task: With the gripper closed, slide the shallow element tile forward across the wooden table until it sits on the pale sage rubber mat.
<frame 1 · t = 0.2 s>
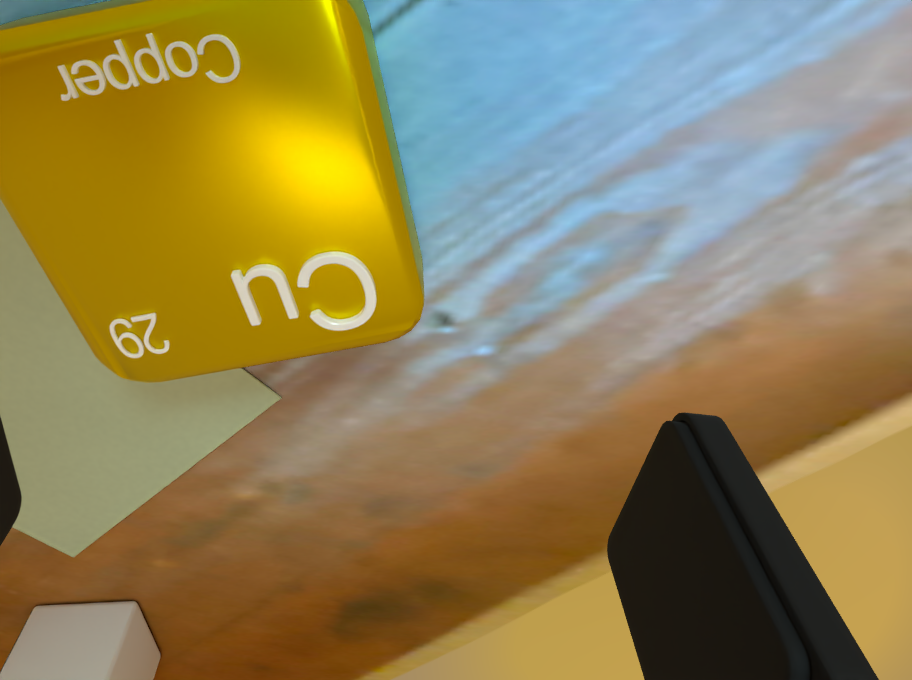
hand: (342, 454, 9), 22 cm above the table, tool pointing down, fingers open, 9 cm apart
element tile: (234, 174, 29), on the table, touching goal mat
medicine bottle: (102, 627, 48), on the table
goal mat: (12, 388, 35), on the table
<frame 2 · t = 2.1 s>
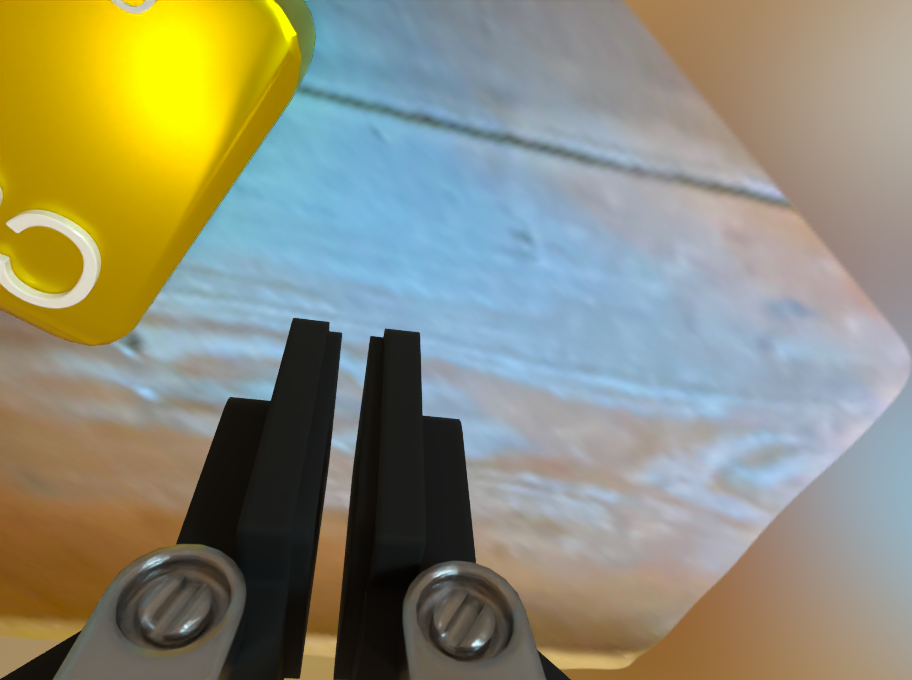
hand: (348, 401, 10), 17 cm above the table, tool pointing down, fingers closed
element tile: (39, 49, 23), on the table, touching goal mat
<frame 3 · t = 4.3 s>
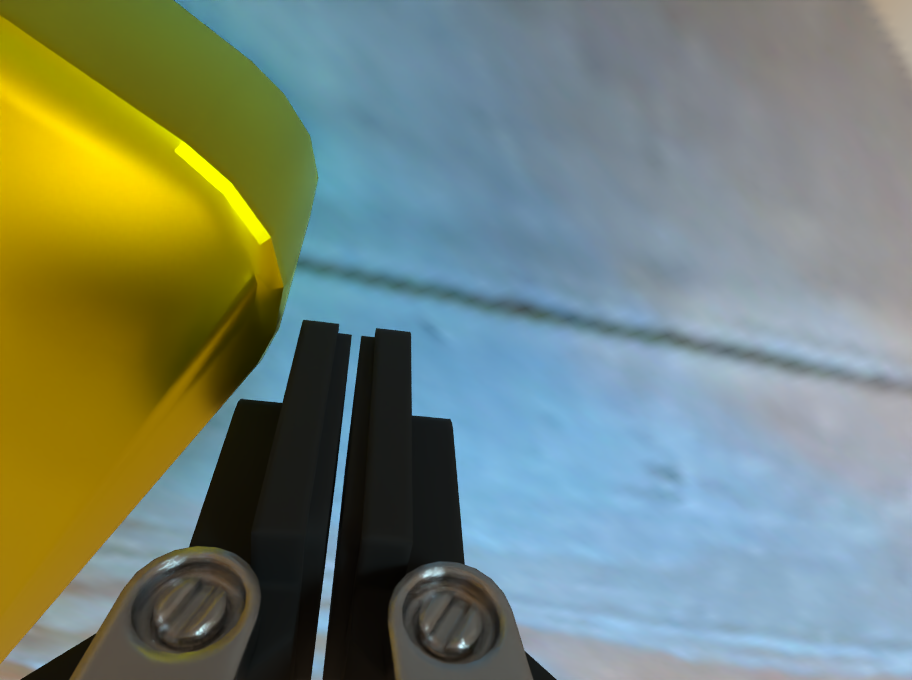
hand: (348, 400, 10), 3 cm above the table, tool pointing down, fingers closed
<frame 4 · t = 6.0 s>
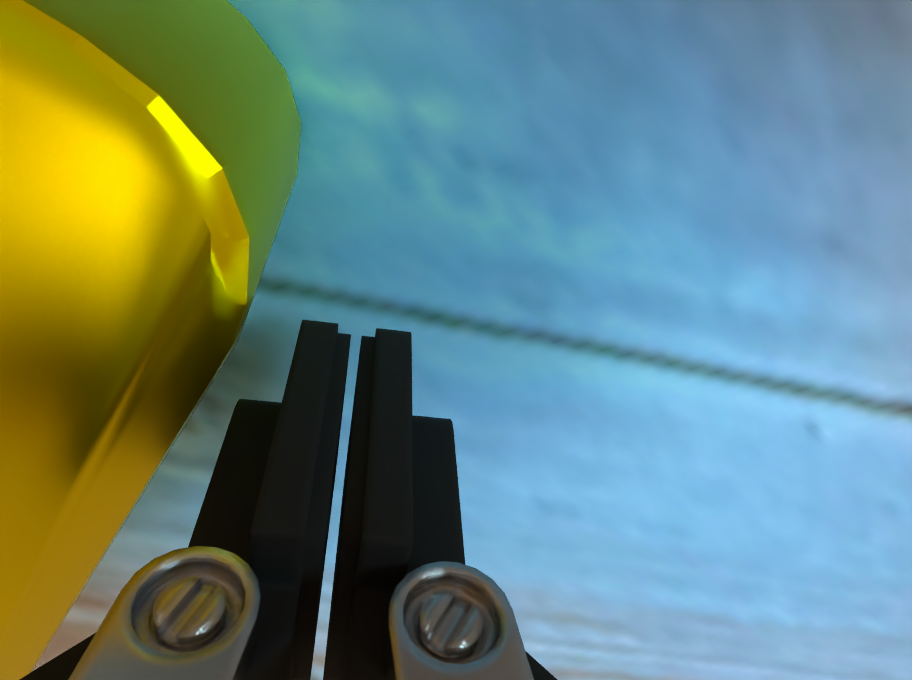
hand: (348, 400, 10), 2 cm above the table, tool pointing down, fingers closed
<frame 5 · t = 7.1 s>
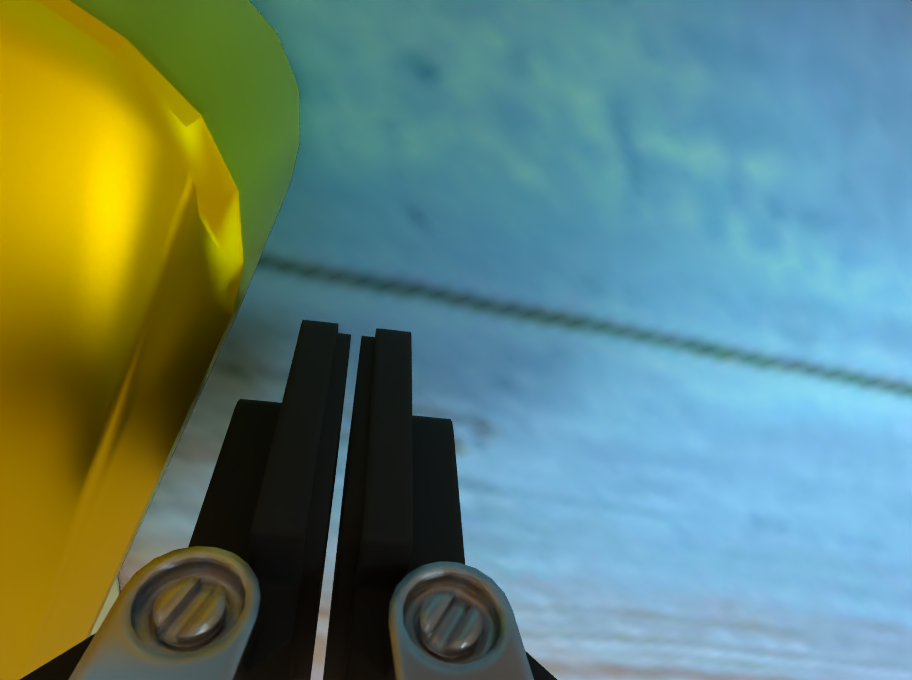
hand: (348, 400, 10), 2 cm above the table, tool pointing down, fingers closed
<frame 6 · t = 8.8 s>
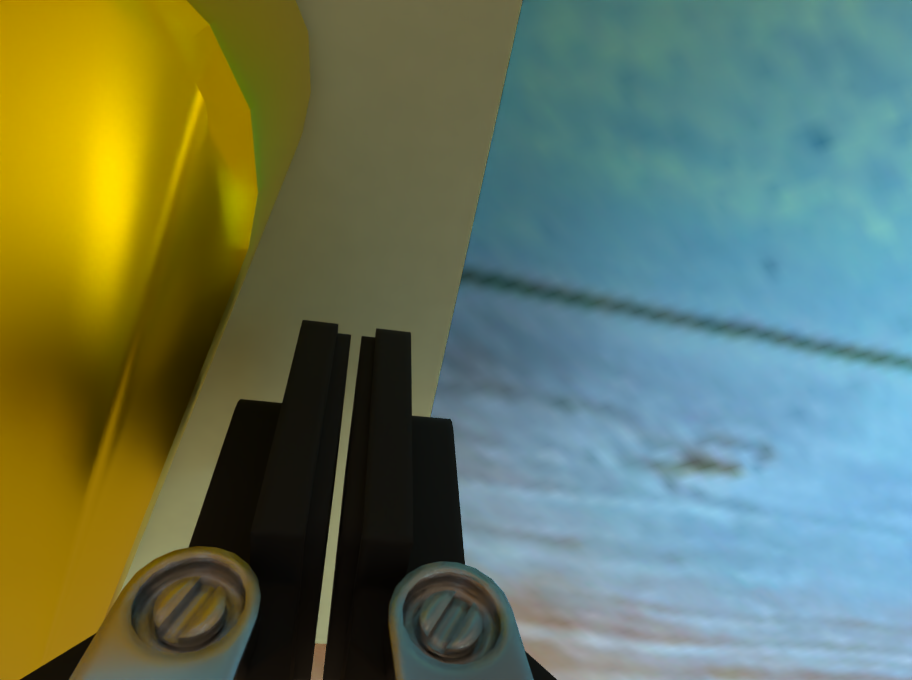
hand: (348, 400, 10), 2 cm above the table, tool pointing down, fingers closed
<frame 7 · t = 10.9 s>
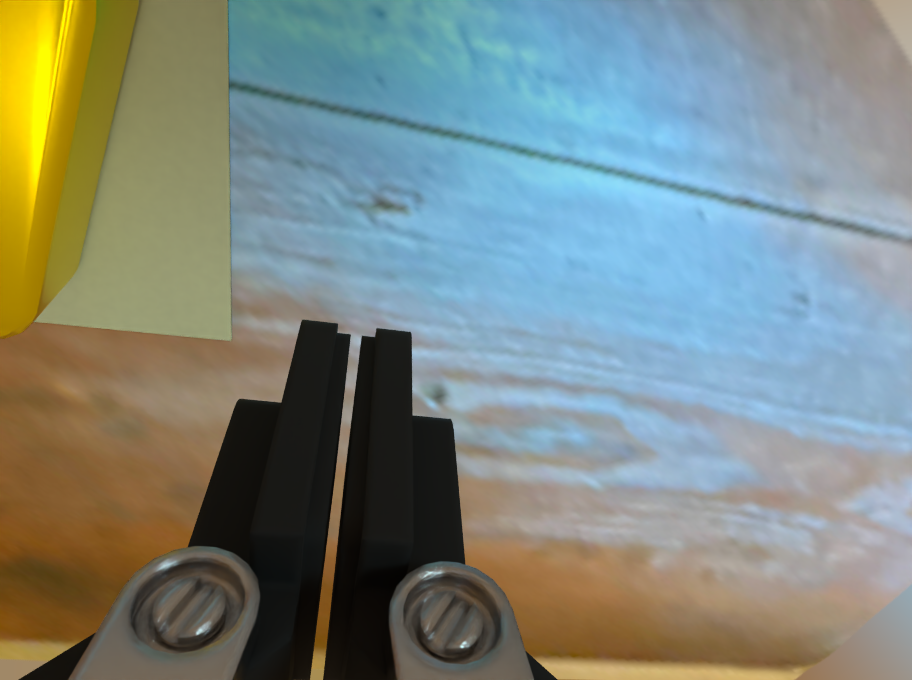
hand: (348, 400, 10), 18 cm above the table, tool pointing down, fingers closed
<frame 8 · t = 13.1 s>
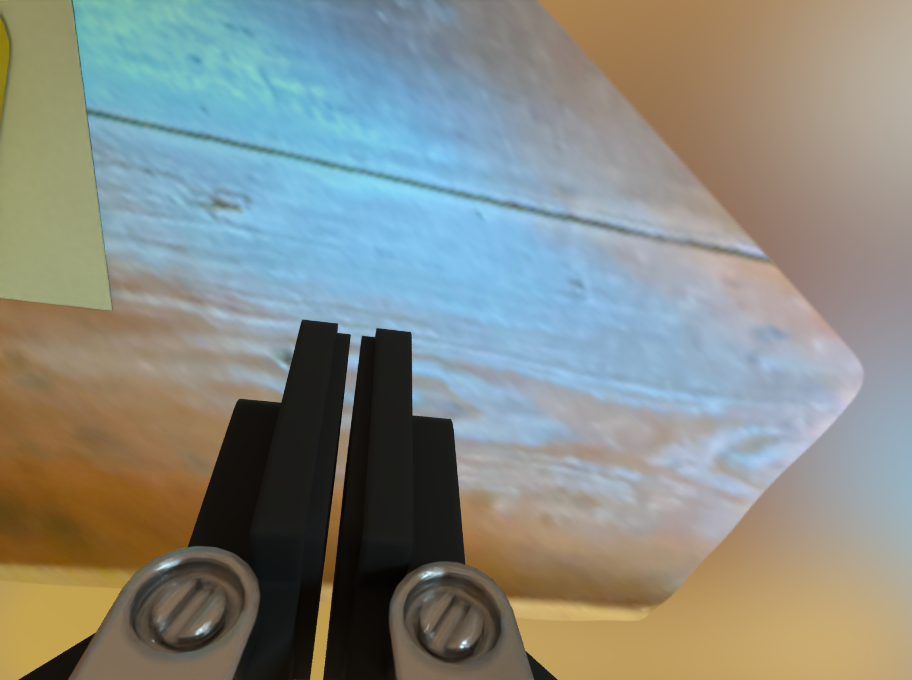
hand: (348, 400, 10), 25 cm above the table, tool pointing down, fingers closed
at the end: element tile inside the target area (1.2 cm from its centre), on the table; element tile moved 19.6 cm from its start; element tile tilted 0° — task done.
